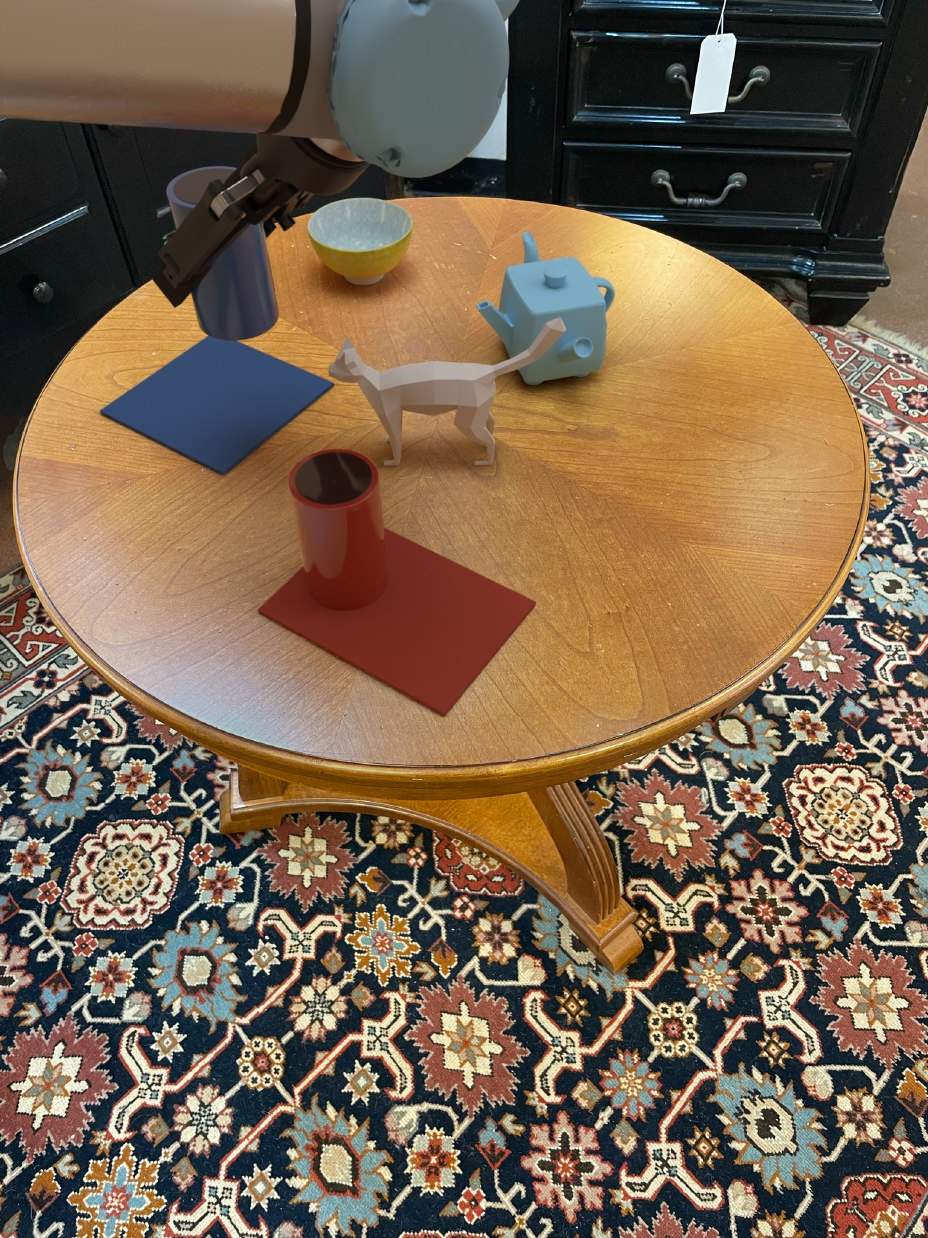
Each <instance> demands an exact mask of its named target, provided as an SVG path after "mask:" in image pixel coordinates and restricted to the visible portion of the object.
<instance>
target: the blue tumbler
mask: <svg viewBox="0 0 928 1238" xmlns="http://www.w3.org/2000/svg"><path fill="white" fill-rule="evenodd" d="M237 168H238V167H233V166H224V165H213V166H204V167H198V168H194V169H191V170H188V171H185V172H183V173H181V174H179V175H178V176H175V177H174V178H173V179H172V180H171V181H169V183H168V185H167V187H166V191H165V192H166V197H167V201H168V206H169V208H170V213H171V214H170V215H171V218H172V221H173V222H172V223H173V227H174V229H175V231H176V230H177V228H178V227H179V226H180V225H181V224H182V222H183V221H184V220H185V219H186V217H187V216H188V215H189V214H190V212H191V211H192V210H193V209H194V207H195V206H196V205H197V204H198V202H199V201H200V200H201V198H202V196H203V194H204V191H205V189H206V188H207V187H208V184H209V183H210V182H212V181H214V180H216V179H220V180H221V181H222V182H223V183H224V182H225V180H226V179H227V178H228V177H229V176H230V175H231V174H232V173H233V172H234V171H235V170H236V169H237ZM260 206H261V205H260ZM209 265H210V266H211V270H210V271H209V272H208V273H207V274H206V275H205V277H204V278H203V279H202V280H201V281H200V283H199V284H198V285H197V286H196V287H195V288H194V290H193V291H192V292H191V293H190V295H191V300H192V304H193V307H194V312H195V316H196V320H197V324H198V327H199V329H200V330H201V332H203V333H204V334H205V335H207V336H210V337H213V338H215V339H219V340H226V341H238V342H241V341H246V340H251V339H254V338H257V337H259V336H262V335H264V334H266V333H267V332H269V331H270V330H272V329H273V328H274V327H275V326H276V324H277V322H278V320H279V316H280V312H279V307H278V306H279V305H278V301H277V295H276V287H275V282H274V277H273V271H272V265H271V257H270V254H269V248H268V240H267V239H266V234H265V229H264V223H263V222H262V223H260V224H257V225H252V224H251V225H250V226H249V227H248V228H247V229H246V230H245V231H244V232H243V233H242V234H240V235H239V236H238V237H237V238H236V239H235V240H234V241H233V242H232V243H231V244H230V245H229V246H228V247H227V248H226V249H225V250H224V251H223V252H222V253H221V254H220V255H219V256H218V257H217V258H216V259H215V260H214V261H213V262H211V263H210V264H209Z"/></svg>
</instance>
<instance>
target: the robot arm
mask: <svg viewBox="0 0 928 1238" xmlns="http://www.w3.org/2000/svg"><path fill="white" fill-rule="evenodd" d="M520 1H521V0H0V119H10V120H11V119H12V120H30V121H43V122H44V121H45V122H59V123H75V124H77V123H78V124H94V125H109V126H126V127H141V128H157V129H175V130H189V131H192V130H193V131H204V132H205V131H208V132H223V133H239V134H240V133H241V134H253V135H254V134H256V135H255V136H256V143H255V144H253V145H252V146H251V147H250V148H249V149H248V150H247V151H246V152H245V154H244V157H243V161H242V162H241V164H239V166H238V167H236V168H237V169H236V170H235V171H234V172H233V173H232V174H231V175H230V176H229V177H228V178H227V179H226V180H225V182H224V183H223V182H222V181H221V180H220V179H216V180H214V181H212V182H210V183H209V184H208V187H207V188H206V189H205V191H204V194H203V196H202V198H201V200H200V201H199V202H198V204H197V205H196V206H195V207H194V209H193V210H192V211H191V212H190V214H189V215H188V216H187V217H186V219H185V220H184V221H183V222H182V224H181V225H180V226H179V227H178V228H177V230H175V231H173V232H170V233H169V234H167V235H166V236H165V238H166V240H167V241H166V242H165V243H164V244H163V245H162V246H161V247H160V249H159V250H158V252H157V254H158V256H159V257H160V259H162V261H163V263H162V265H161V266H160V267H159V268H158V270H157V271H156V272H155V274H154V275H153V276H152V278H151V280H152V281H153V283H154V284H155V286H157V288H158V289H159V290H160V291H161V293H162V294H163V295H164V297H165V298H166V299H167V301H168V302H169V303H170V304H171V306H172V307H173V308H174V309H176V308H178V307H180V305H182V304H183V303H184V301H185V300H186V299H187V298H188V297H189V296H190V295H191V292H192V291H193V290H194V288H195V287H196V286H197V285H198V284H199V283H200V281H201V280H202V279H203V278H204V277H205V275H206V274H207V273H208V272H209V271H210V270H211V266H210V265H209V264H210V263H211V262H213V261H214V260H215V259H216V258H217V257H218V256H219V255H220V254H221V253H222V252H223V251H224V250H225V249H226V248H227V247H228V246H229V245H230V244H231V243H232V242H233V241H234V240H235V239H236V238H237V237H238V236H239V235H240V234H242V233H243V232H244V231H245V230H246V229H247V228H248V227H249V226H250V225H251V224H252V225H257V224H260V223H262V222H263V223H264V229H265V234H266V240H267V239H268V238H269V237H270V235H272V233H274V231H275V230H276V229H277V225H276V224H275V222H276V223H277V224H278V226H279V227H280V228H281V229H282V231H283V232H286V231H289V230H290V229H291V228H292V227H293V226H295V224H297V223H296V221H295V219H294V217H292V215H291V214H292V212H293V210H294V209H296V210H299V209H301V210H302V209H303V208H304V207H306V206H307V203H308V202H309V201H310V200H311V198H312V197H313V196H314V195H317V196H333V195H337V194H339V193H342V192H343V191H345V190H347V189H348V188H349V187H350V186H351V185H352V184H353V183H354V182H355V181H356V180H357V179H358V178H359V177H360V176H361V175H362V174H363V173H364V172H365V171H366V170H367V168H369V166H370V165H376V166H377V167H379V168H382V169H383V170H384V171H386V172H388V173H389V174H392V175H394V176H397V177H398V176H399V177H404V178H411V179H414V178H415V179H416V178H426V177H431V176H434V175H437V174H441V173H443V172H445V171H446V170H447V171H448V170H449V169H451V168H453V167H454V166H456V165H457V164H459V163H460V162H462V161H463V160H464V159H465V158H466V157H468V156H469V155H470V154H471V153H472V152H473V151H474V150H475V149H476V147H478V145H479V144H480V143H481V142H482V140H483V139H484V138H485V137H486V135H487V134H488V132H489V130H490V128H491V127H492V125H493V123H494V121H495V119H496V117H497V115H498V113H499V110H500V108H501V105H502V99H503V95H504V93H505V91H506V81H507V78H508V75H509V68H510V47H509V38H508V33H507V28H506V21H507V20H508V18H509V17H510V16H511V14H512V13H513V12H514V11H515V9H516V7H517V6H518V4H519V2H520ZM260 205H261V206H260Z"/></svg>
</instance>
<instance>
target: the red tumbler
mask: <svg viewBox="0 0 928 1238" xmlns="http://www.w3.org/2000/svg"><path fill="white" fill-rule="evenodd" d="M287 484H288V485H287V486H288V492H289V496H290V501H291V506H292V514H293V517H294V523H295V528H296V533H297V538H298V543H299V549H300V554H301V560H302V564H303V566H304V571H305V576H306V581H307V586H308V590H309V592H310V594H311V595H312V597H313V598H314V599H315V600H316V601H317V602H319V603H320V604H322V605H324V606H326V607H329V608H332V609H337V610H352V609H357V608H361V607H364V606H366V605H368V604H370V603H372V602H374V601H375V600H376V599H377V598H379V597H380V596H381V594H382V593H383V592H384V590H385V588H386V586H387V583H388V568H387V557H386V546H385V535H384V528H385V525H384V524H385V523H384V514H383V504H382V492H381V491H382V490H381V481H380V472H379V469H378V467H377V465H376V464H375V462H374V461H373V460H372V459H370V458H369V456H367V455H365V454H363V453H362V452H358V451H356V450H352V449H346V448H329V449H324V450H319V451H316V452H313V453H310V454H308V455H306V456H305V457H303V458H302V459H300V460H298V462H297V463H295V465H294V466H293V468H292V469H291V471H290V472H289V476H288V480H287Z"/></svg>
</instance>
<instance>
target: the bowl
mask: <svg viewBox="0 0 928 1238" xmlns="http://www.w3.org/2000/svg"><path fill="white" fill-rule="evenodd" d="M306 226H307V227H306V228H307V234H308V237H309V241H310V243H311V246H312V249H313V251H314V252H315V254H316V256H317V257H318V258H319V260H320V261H321V262H322V263H323V264H324V266H326V267H328V268H329V269H330V270H331V271H332V272H334V273H337V274H338V275H340V276H343V277H344V279H345V280H346V281H347V282H349V283H350V284H353V285H357V286H370V285H374V284H377V283H378V282H380V281H381V280H382V279H383V278H384V276H385V274H387V273H388V272H390V271H391V270H393V269H394V268H395V267H397V266H398V265H399V264H400V262H401V261H402V260H403V258H404V257H405V256H406V254H407V252H408V250H409V247H410V244H411V240H412V237H413V229H414V227H413V226H414V222H413V217H412V215H411V214H410V213H409V212H408V210H406V209H405V207H402V206H401V205H399V204H396V203H394V202H391V201H388V200H386V199H385V200H384V199H380V198H373V197H356V198H355V197H353V198H352V197H351V198H346V199H341V200H337V201H334V202H330V203H328V204H326V205H323V206H322V207H319V208H318V209H316V211H314V212H313V213H312V214H311V216H310V217H309V218H308V221H307V224H306Z"/></svg>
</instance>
